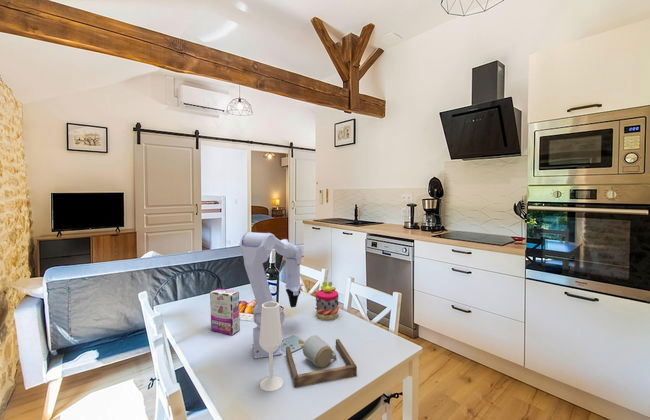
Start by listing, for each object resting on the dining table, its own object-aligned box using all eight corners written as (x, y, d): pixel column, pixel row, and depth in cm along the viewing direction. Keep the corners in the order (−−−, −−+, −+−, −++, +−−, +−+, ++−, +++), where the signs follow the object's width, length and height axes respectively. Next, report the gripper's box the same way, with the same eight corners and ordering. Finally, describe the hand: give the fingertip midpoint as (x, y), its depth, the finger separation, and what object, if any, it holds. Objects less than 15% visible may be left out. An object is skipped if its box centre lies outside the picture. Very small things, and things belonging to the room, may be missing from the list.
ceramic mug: (316, 372, 90) (316, 348, 90) (302, 360, 97) (302, 338, 96) (341, 361, 97) (342, 338, 96) (326, 350, 103) (327, 329, 103)
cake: (342, 318, 129) (342, 285, 128) (320, 322, 125) (320, 288, 124) (332, 309, 138) (332, 279, 137) (312, 313, 134) (312, 281, 133)
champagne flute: (283, 375, 89) (282, 299, 87) (282, 390, 82) (281, 308, 81) (261, 377, 88) (259, 300, 87) (258, 392, 82) (257, 309, 80)
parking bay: (294, 387, 83) (294, 377, 83) (286, 355, 100) (286, 346, 100) (356, 375, 89) (356, 366, 89) (338, 346, 105) (338, 339, 105)
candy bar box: (240, 330, 118) (239, 291, 117) (232, 336, 113) (231, 295, 112) (219, 325, 122) (218, 287, 121) (210, 331, 117) (209, 291, 116)
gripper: (306, 278, 112) (306, 312, 113) (299, 268, 126) (299, 299, 127) (288, 280, 110) (288, 314, 111) (283, 270, 124) (283, 300, 125)
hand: (293, 306), depth 119 cm, fingers closed
